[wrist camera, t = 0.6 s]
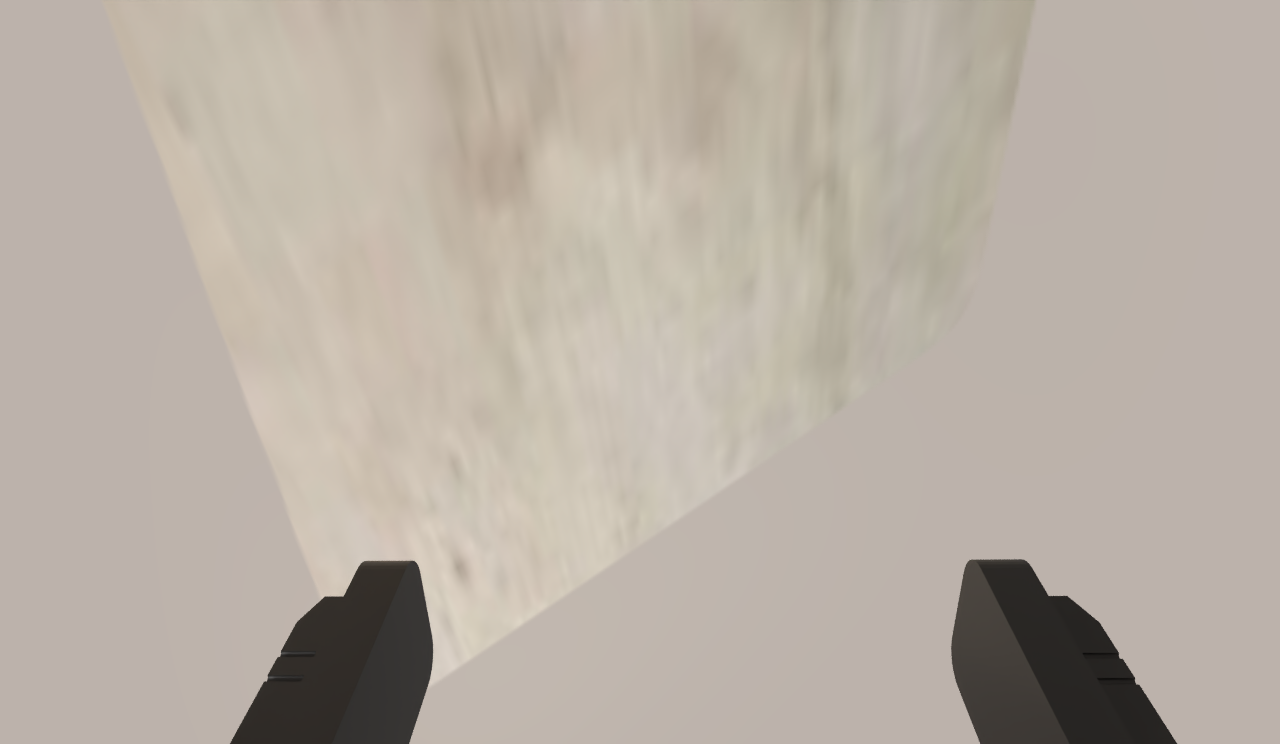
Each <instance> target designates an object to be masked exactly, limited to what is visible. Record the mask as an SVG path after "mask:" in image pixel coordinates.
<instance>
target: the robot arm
mask: <svg viewBox="0 0 1280 744" xmlns="http://www.w3.org/2000/svg"><path fill="white" fill-rule="evenodd" d="M951 650H952V664H953V670H954V675H955V679H956V683H957V685H958V688H959V691H960V693H961V696H962V698H963V701H964V703H965V706H966V708H967V711H968V713H969V716H970V719H971V721H972V724H973V726H974V729H975V731H976V734H977V736H978V738H979V741H980V744H1177V743H1176V741H1175V740H1174V738H1173V737H1172V735H1171V733H1170V732H1169V730H1168V729H1167V727H1166V726H1165V724H1164V723H1163V721H1162V720H1161V718H1160V716H1159V715H1158V713H1157V712H1156V710H1155V708H1154V707H1153V705H1152V704H1151V702H1150V701H1149V699H1148V698H1147V696H1146V694H1145V693H1144V692H1143V690H1142V688H1141V687H1140V685H1136V683H1135V677H1134V676H1133V674H1132V673H1131V671H1130V670H1129V668H1128V666H1127V665H1126V663H1125V662H1124V660H1123V659H1120V658H1119V652H1118V651H1117V649H1116V648H1115V646H1114V645H1113V643H1112V641H1111V640H1110V638H1109V637H1108V635H1107V634H1106V632H1105V631H1104V629H1103V627H1102V626H1101V624H1100V623H1099V622H1098V621H1097V620H1095V618H1093V617H1092V616H1091V615H1090V614H1088V613H1087V612H1086V611H1085V610H1084V609H1082V608H1081V607H1080V606H1079V605H1078V604H1076V603H1075V602H1074V601H1073V600H1071V599H1070V598H1069V597H1068V596H1048V595H1047V593H1046V591H1045V589H1044V588H1043V586H1042V584H1041V582H1040V581H1039V579H1038V577H1037V576H1036V574H1035V572H1034V571H1033V569H1032V567H1031V566H1030V564H1029V563H1028V562H1027V561H1025V560H1021V559H1019V560H970V561H968V563H967V564H966V567H965V570H964V575H963V580H962V586H961V592H960V597H959V603H958V608H957V614H956V619H955V625H954V631H953V636H952V646H951ZM432 662H433V640H432V634H431V628H430V623H429V617H428V612H427V607H426V601H425V596H424V590H423V585H422V580H421V574H420V570H419V567H418V565H417V563H416V562H415V561H364V562H363V563H361V565H360V566H359V567H358V569H357V571H356V573H355V575H354V577H353V579H352V581H351V583H350V585H349V587H348V589H347V591H346V593H345V595H344V597H324V598H323V599H322V600H321V601H320V602H319V603H318V604H316V605H315V606H314V607H313V608H312V609H311V610H310V611H309V612H308V613H306V615H304V616H303V617H302V618H301V619H300V620H299V621H298V622H297V623H296V625H295V627H294V628H293V630H292V632H291V634H290V636H289V638H288V639H287V641H286V643H285V645H284V647H283V649H282V650H281V656H280V657H278V658H277V659H276V661H275V663H274V665H273V667H272V669H271V670H270V672H269V674H268V680H267V682H264V683H263V685H262V687H261V688H260V690H259V692H258V694H257V696H256V697H255V699H254V701H253V703H252V705H251V707H250V708H249V710H248V712H247V714H246V716H245V717H244V719H243V721H242V723H241V725H240V726H239V728H238V730H237V732H236V734H235V736H234V737H233V739H232V741H231V743H230V744H409V742H410V739H411V736H412V733H413V730H414V727H415V723H416V721H417V717H418V714H419V711H420V708H421V705H422V702H423V699H424V696H425V693H426V690H427V687H428V684H429V680H430V676H431V670H432Z"/></svg>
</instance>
